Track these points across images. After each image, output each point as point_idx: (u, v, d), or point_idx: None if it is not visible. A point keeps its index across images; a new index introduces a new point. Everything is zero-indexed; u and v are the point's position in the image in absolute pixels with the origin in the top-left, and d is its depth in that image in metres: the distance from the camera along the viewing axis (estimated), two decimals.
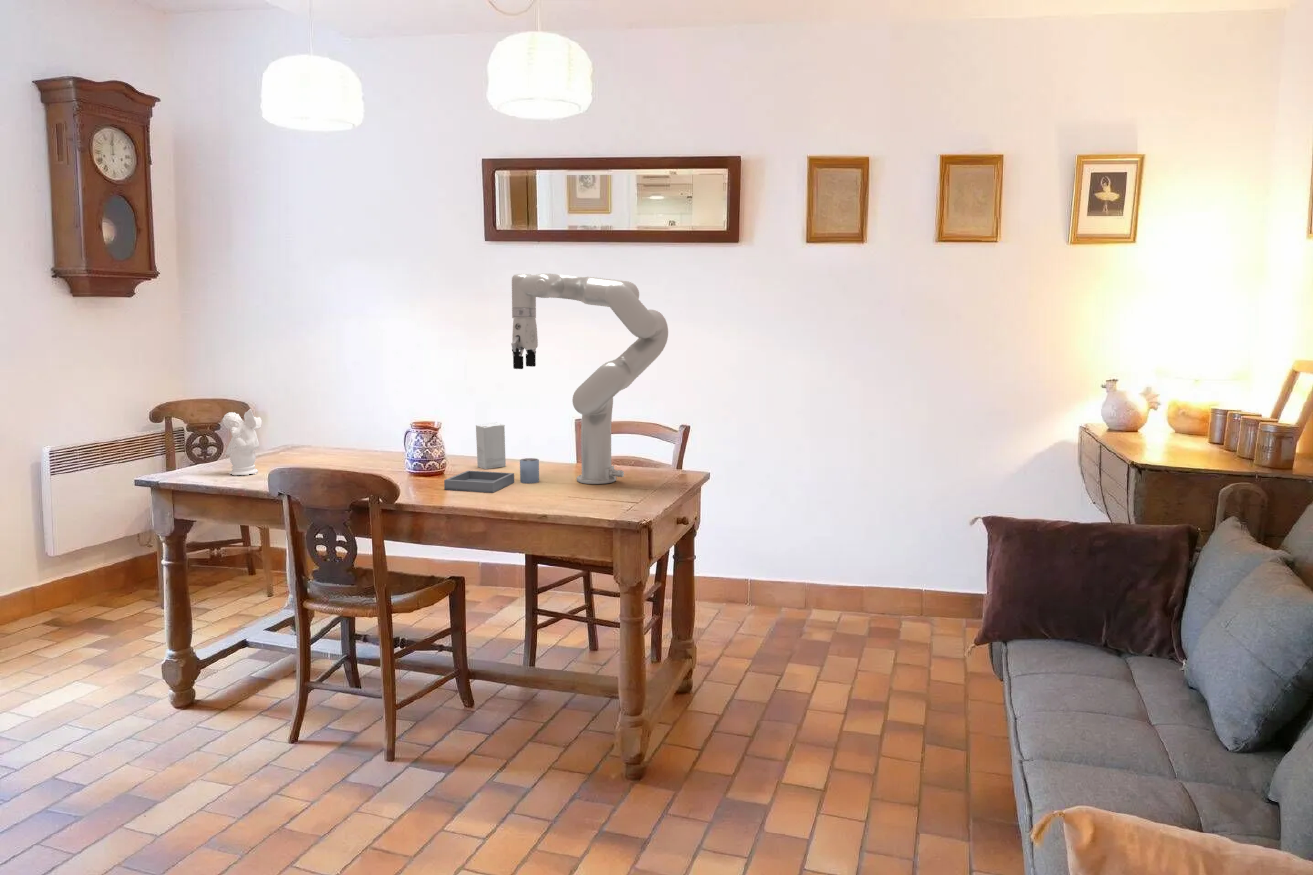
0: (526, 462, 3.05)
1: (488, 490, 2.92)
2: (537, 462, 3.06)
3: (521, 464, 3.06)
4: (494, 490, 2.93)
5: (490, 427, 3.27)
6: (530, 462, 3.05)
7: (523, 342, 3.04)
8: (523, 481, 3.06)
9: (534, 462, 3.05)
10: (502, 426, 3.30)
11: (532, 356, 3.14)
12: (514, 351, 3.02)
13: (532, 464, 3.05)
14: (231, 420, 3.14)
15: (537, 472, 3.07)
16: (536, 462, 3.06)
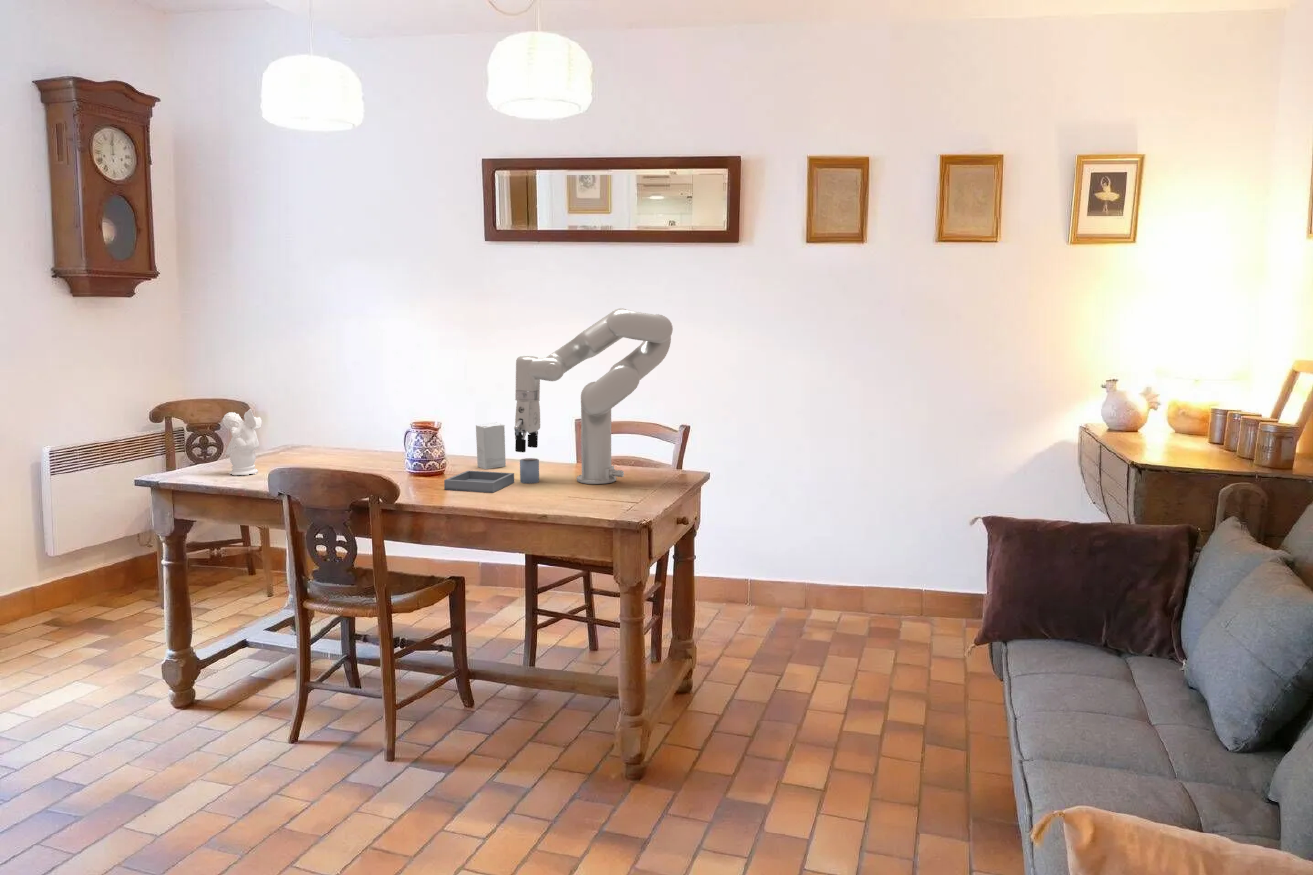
0: (526, 462, 3.05)
1: (488, 490, 2.92)
2: (537, 462, 3.06)
3: (521, 464, 3.06)
4: (494, 490, 2.93)
5: (490, 427, 3.27)
6: (530, 462, 3.05)
7: (526, 425, 3.00)
8: (523, 481, 3.06)
9: (534, 462, 3.05)
10: (502, 426, 3.30)
11: (534, 437, 3.10)
12: (517, 435, 2.99)
13: (532, 464, 3.05)
14: (231, 420, 3.14)
15: (537, 472, 3.07)
16: (536, 462, 3.06)
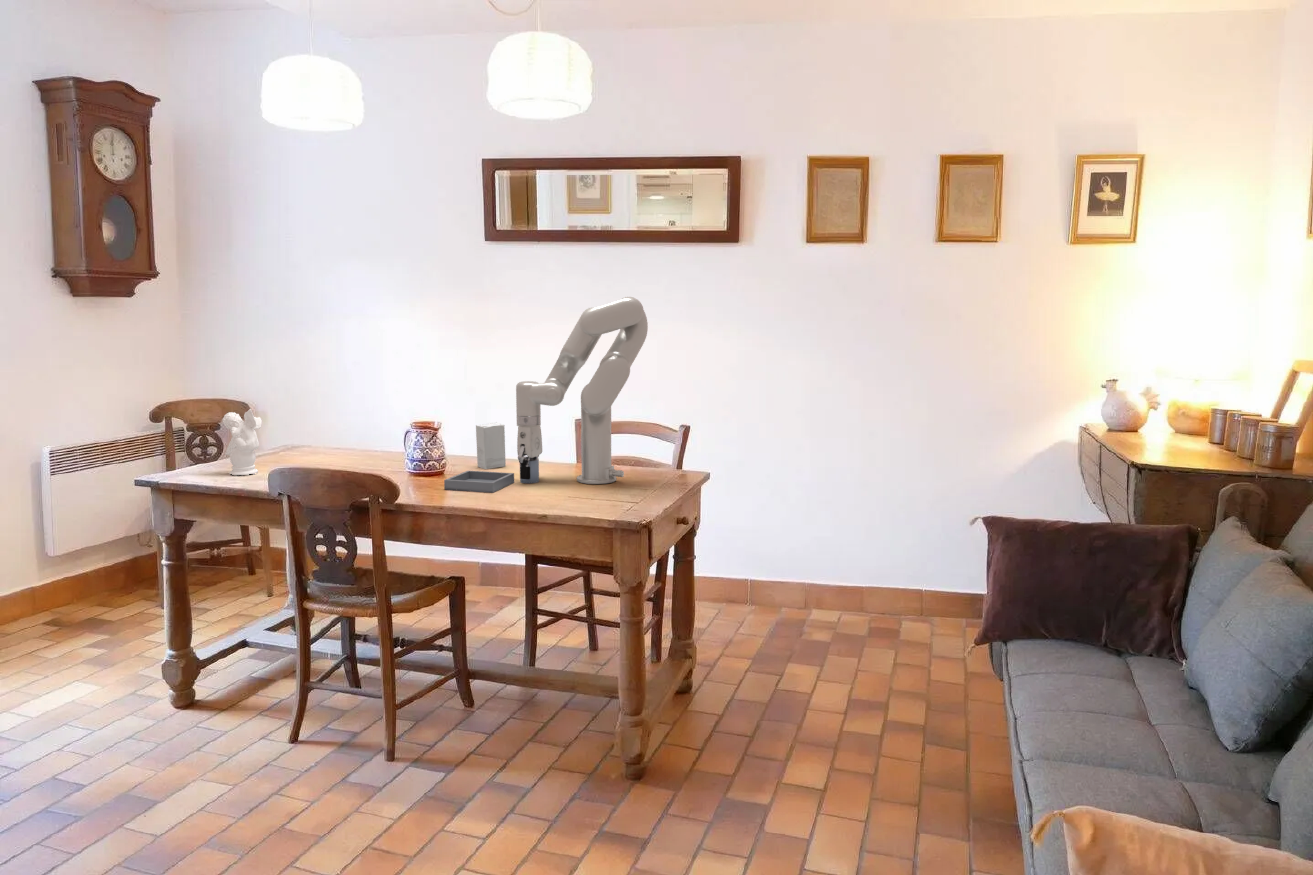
0: None
1: (488, 490, 2.92)
2: (537, 462, 3.06)
3: None
4: (494, 490, 2.93)
5: (490, 427, 3.27)
6: (530, 462, 3.05)
7: (528, 451, 3.02)
8: (523, 481, 3.06)
9: (534, 462, 3.05)
10: (502, 426, 3.30)
11: None
12: (521, 462, 3.02)
13: (532, 464, 3.05)
14: (231, 420, 3.14)
15: (537, 472, 3.07)
16: (536, 462, 3.06)
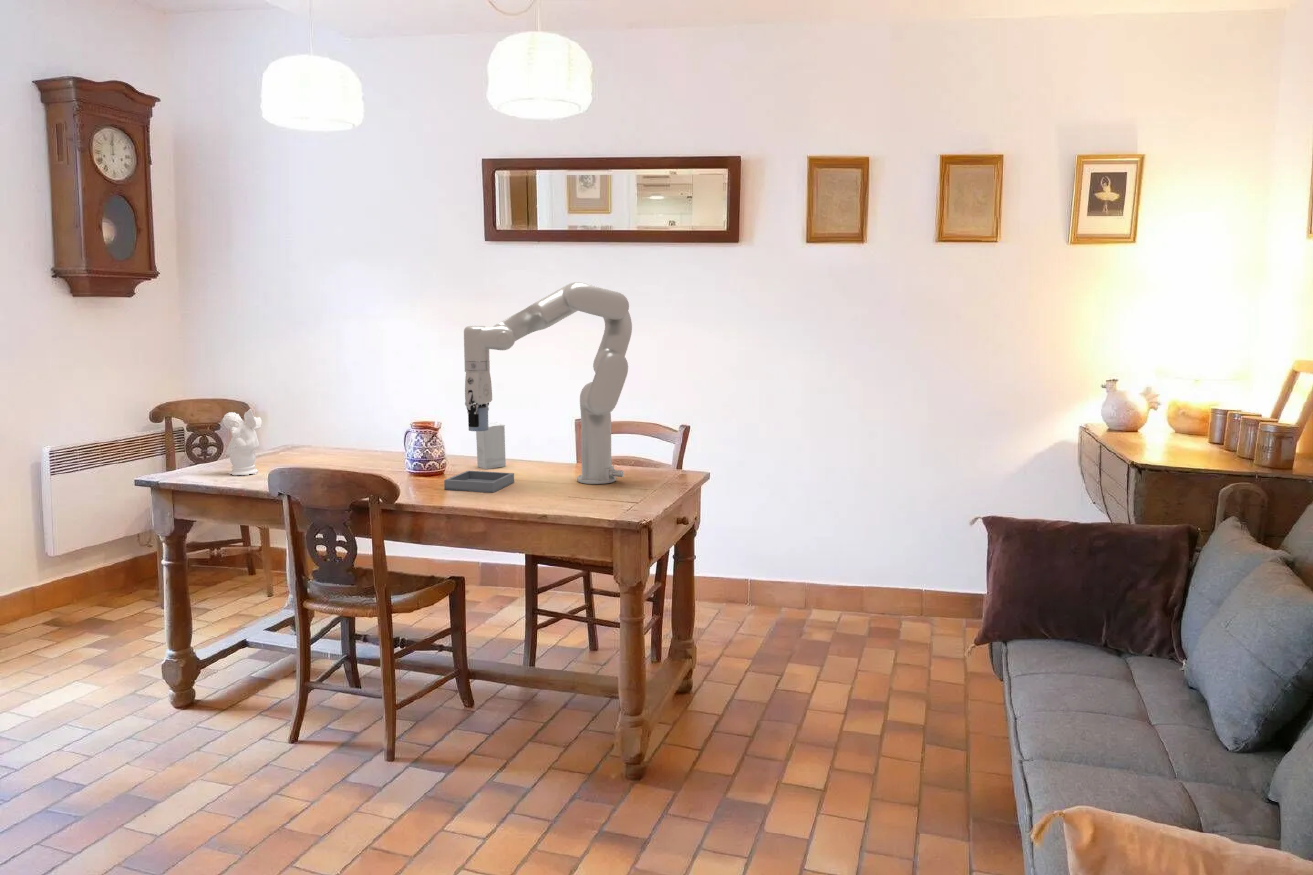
0: None
1: (488, 490, 2.92)
2: (486, 409, 2.96)
3: None
4: (494, 490, 2.93)
5: (490, 427, 3.27)
6: (478, 409, 2.95)
7: (476, 397, 2.92)
8: (471, 429, 2.96)
9: (482, 409, 2.95)
10: (502, 426, 3.30)
11: None
12: (469, 409, 2.92)
13: (480, 411, 2.95)
14: (231, 420, 3.14)
15: (486, 420, 2.97)
16: (485, 409, 2.96)
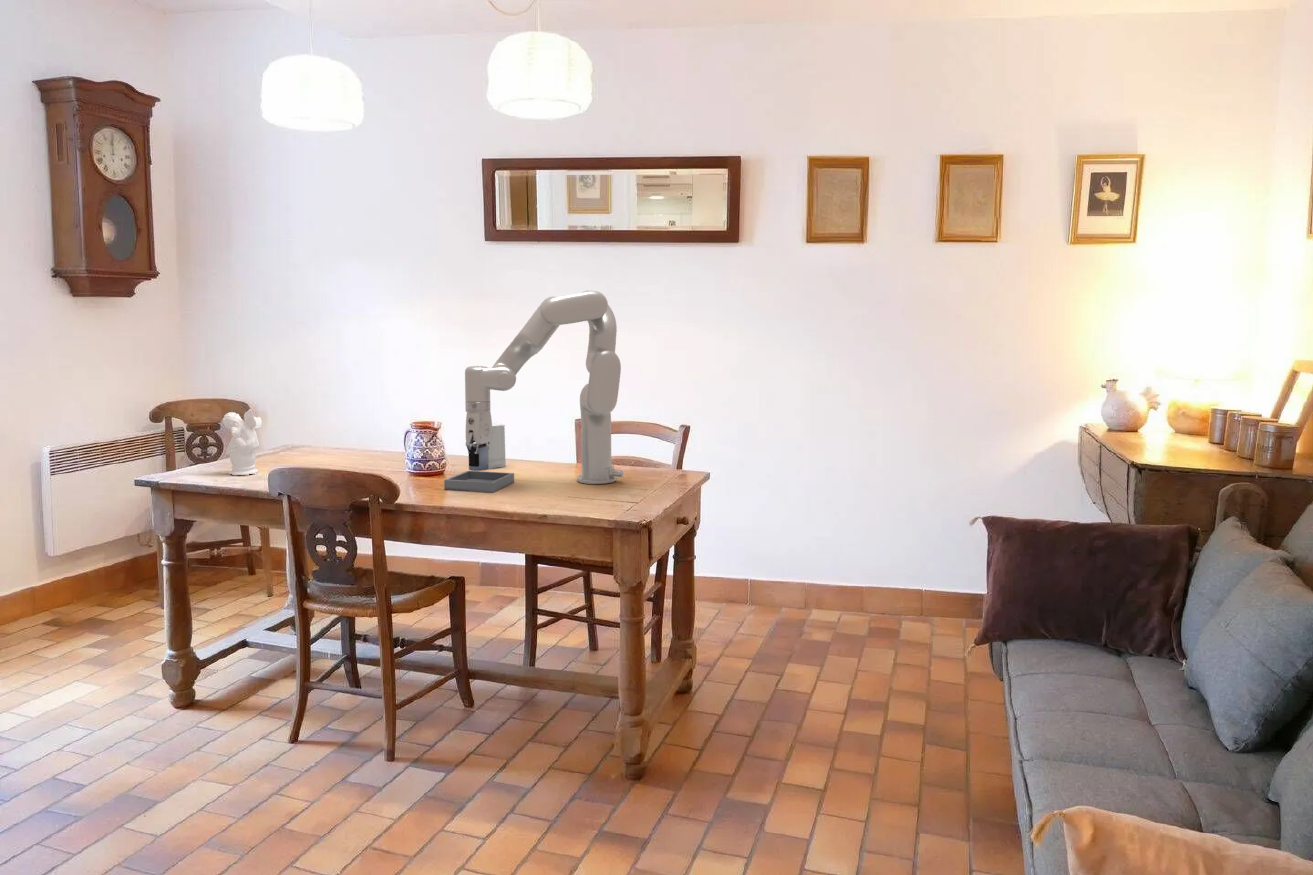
0: None
1: (488, 490, 2.92)
2: (486, 449, 2.98)
3: None
4: (494, 490, 2.93)
5: None
6: (478, 449, 2.96)
7: (476, 437, 2.93)
8: (471, 468, 2.98)
9: (483, 449, 2.97)
10: (502, 426, 3.30)
11: None
12: (469, 449, 2.94)
13: (481, 451, 2.97)
14: (231, 420, 3.14)
15: (486, 459, 2.99)
16: (485, 449, 2.98)
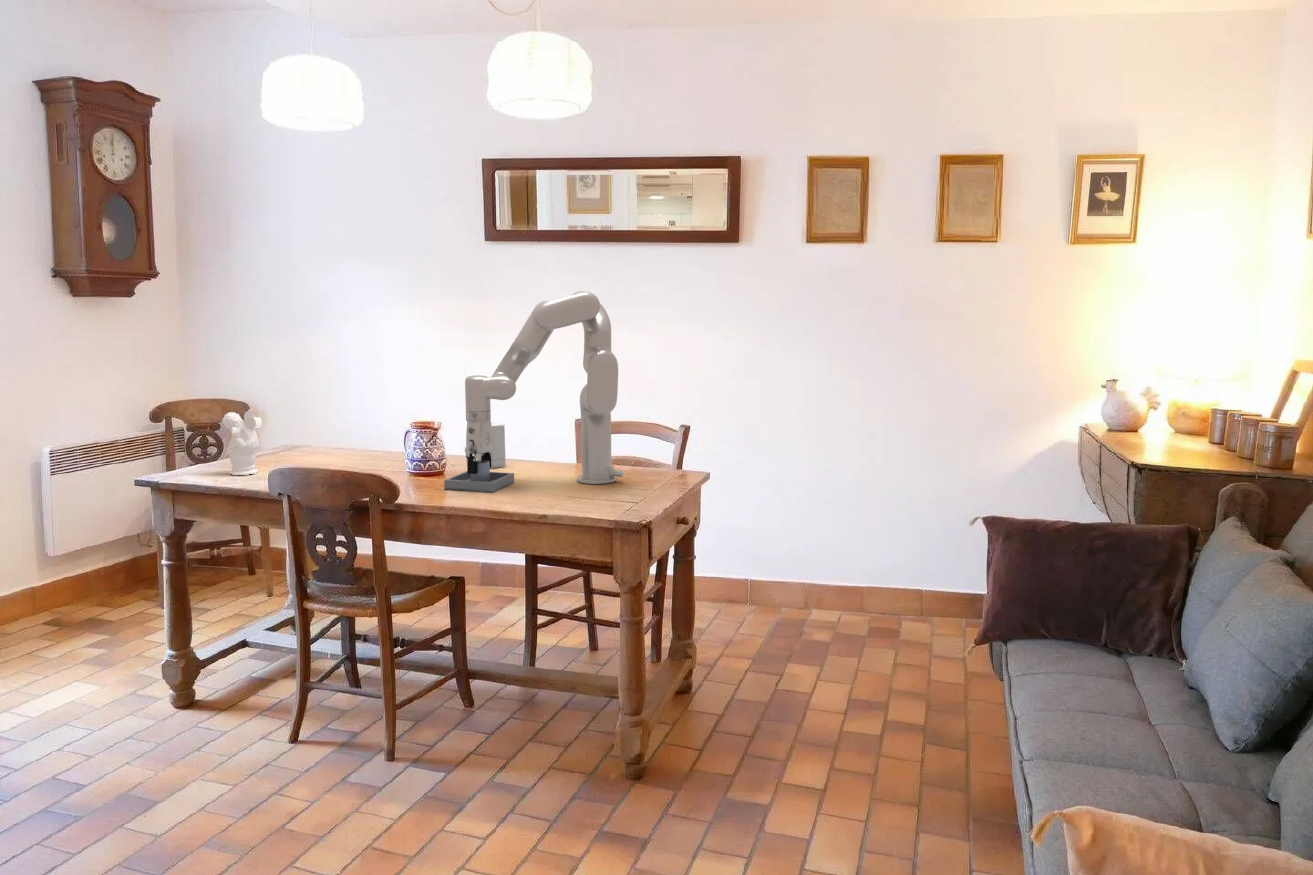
0: None
1: (488, 490, 2.92)
2: (487, 464, 2.99)
3: None
4: (494, 490, 2.93)
5: None
6: (480, 464, 2.97)
7: (477, 447, 2.94)
8: None
9: (484, 464, 2.98)
10: (502, 426, 3.30)
11: (488, 458, 3.04)
12: (468, 456, 2.93)
13: (482, 466, 2.98)
14: (231, 420, 3.14)
15: (487, 474, 2.99)
16: (486, 464, 2.99)
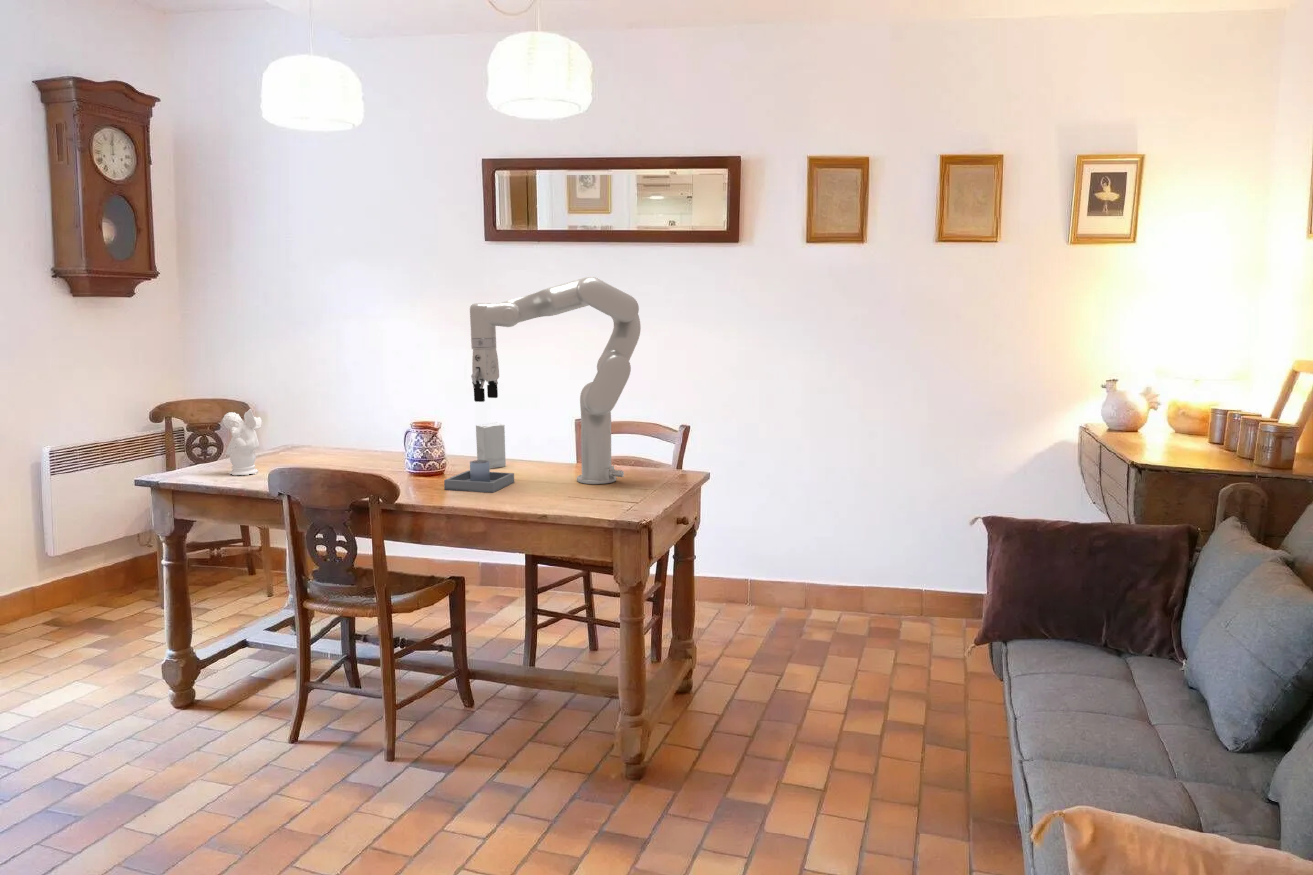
0: (476, 464, 2.97)
1: (488, 490, 2.92)
2: (487, 464, 2.99)
3: (471, 466, 2.98)
4: (494, 490, 2.93)
5: (490, 427, 3.27)
6: (480, 464, 2.97)
7: (484, 374, 2.93)
8: None
9: (484, 464, 2.98)
10: (502, 426, 3.30)
11: (494, 387, 3.03)
12: (474, 383, 2.91)
13: (482, 466, 2.98)
14: (231, 420, 3.14)
15: (487, 474, 2.99)
16: (486, 464, 2.99)
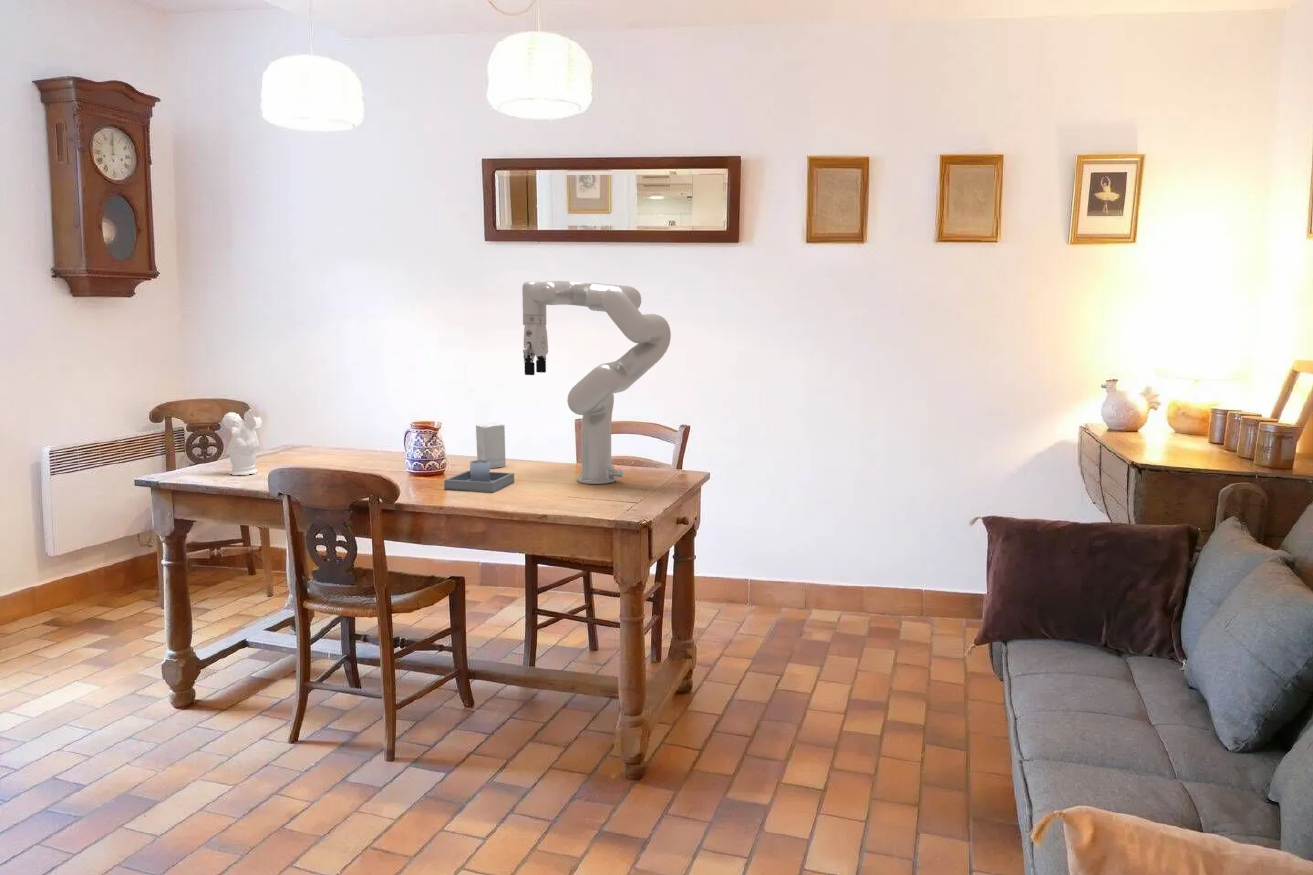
0: (476, 464, 2.97)
1: (488, 490, 2.92)
2: (488, 464, 2.99)
3: (471, 466, 2.98)
4: (494, 490, 2.93)
5: (490, 427, 3.27)
6: (480, 464, 2.97)
7: (534, 349, 3.08)
8: None
9: (484, 464, 2.98)
10: (502, 426, 3.30)
11: (542, 362, 3.18)
12: (525, 357, 3.07)
13: (482, 466, 2.98)
14: (231, 420, 3.14)
15: (488, 474, 2.99)
16: (486, 464, 2.99)
